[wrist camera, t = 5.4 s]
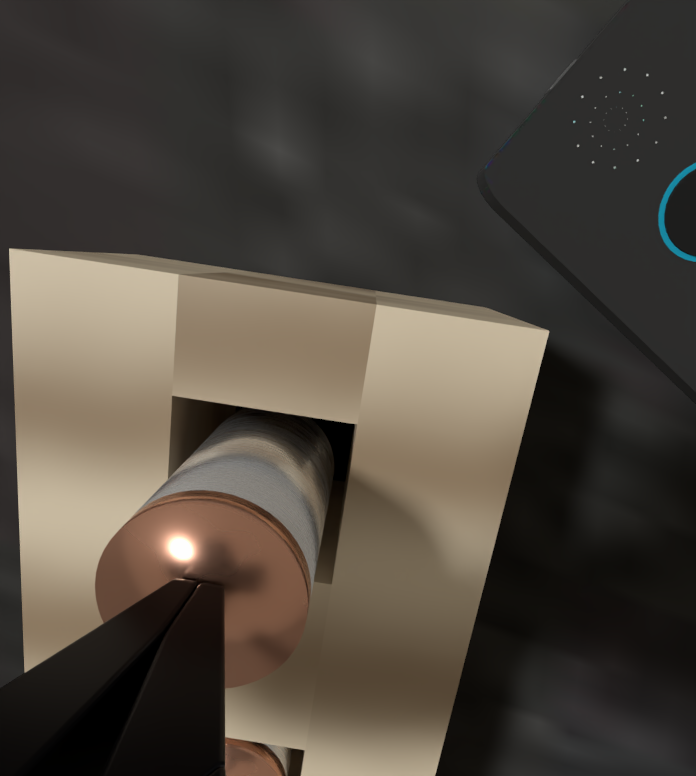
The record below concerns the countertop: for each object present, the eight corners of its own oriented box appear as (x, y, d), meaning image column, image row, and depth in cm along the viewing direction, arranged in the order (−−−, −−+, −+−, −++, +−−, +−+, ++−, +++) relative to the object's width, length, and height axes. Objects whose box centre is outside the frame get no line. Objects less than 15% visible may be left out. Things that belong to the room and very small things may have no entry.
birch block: (387, 753, 21) (393, 938, 15) (124, 710, 21) (32, 876, 16) (485, 307, 16) (549, 330, 10) (139, 254, 16) (9, 248, 10)
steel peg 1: (325, 529, 14) (294, 703, 8) (204, 510, 14) (93, 671, 8) (342, 414, 13) (320, 523, 7) (213, 393, 13) (95, 487, 7)
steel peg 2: (302, 687, 20) (276, 846, 15) (219, 673, 20) (162, 827, 15) (313, 617, 19) (290, 758, 14) (226, 602, 19) (167, 737, 14)
